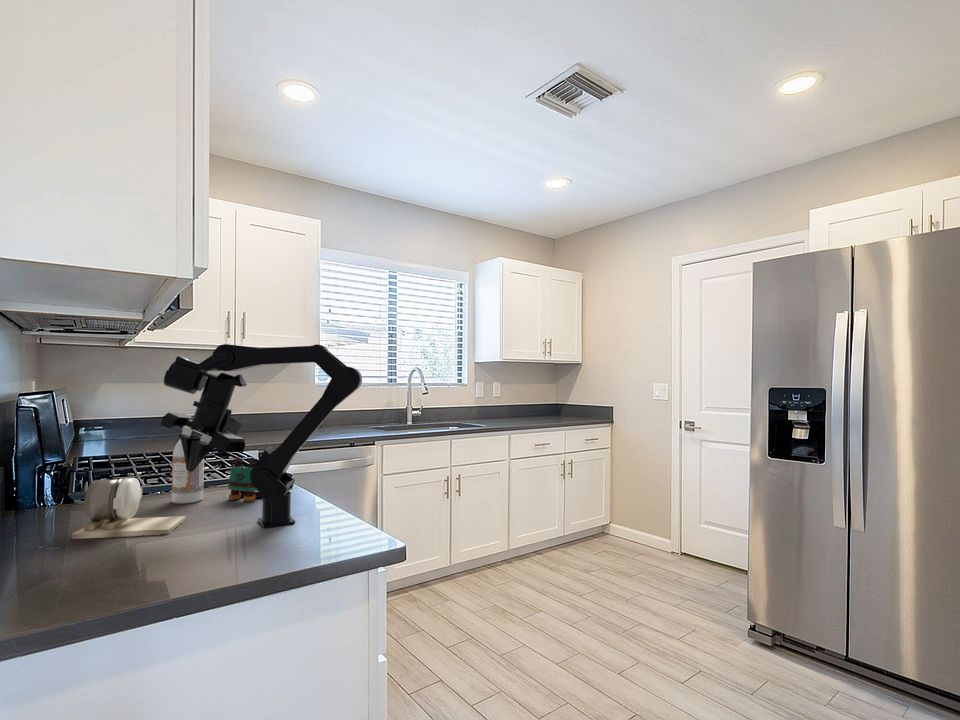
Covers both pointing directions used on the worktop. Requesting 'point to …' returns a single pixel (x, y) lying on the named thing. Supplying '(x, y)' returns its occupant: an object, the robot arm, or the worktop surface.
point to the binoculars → (242, 481)
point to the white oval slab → (127, 498)
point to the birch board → (129, 527)
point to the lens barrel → (101, 500)
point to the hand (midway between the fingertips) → (189, 471)
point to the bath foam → (186, 479)
